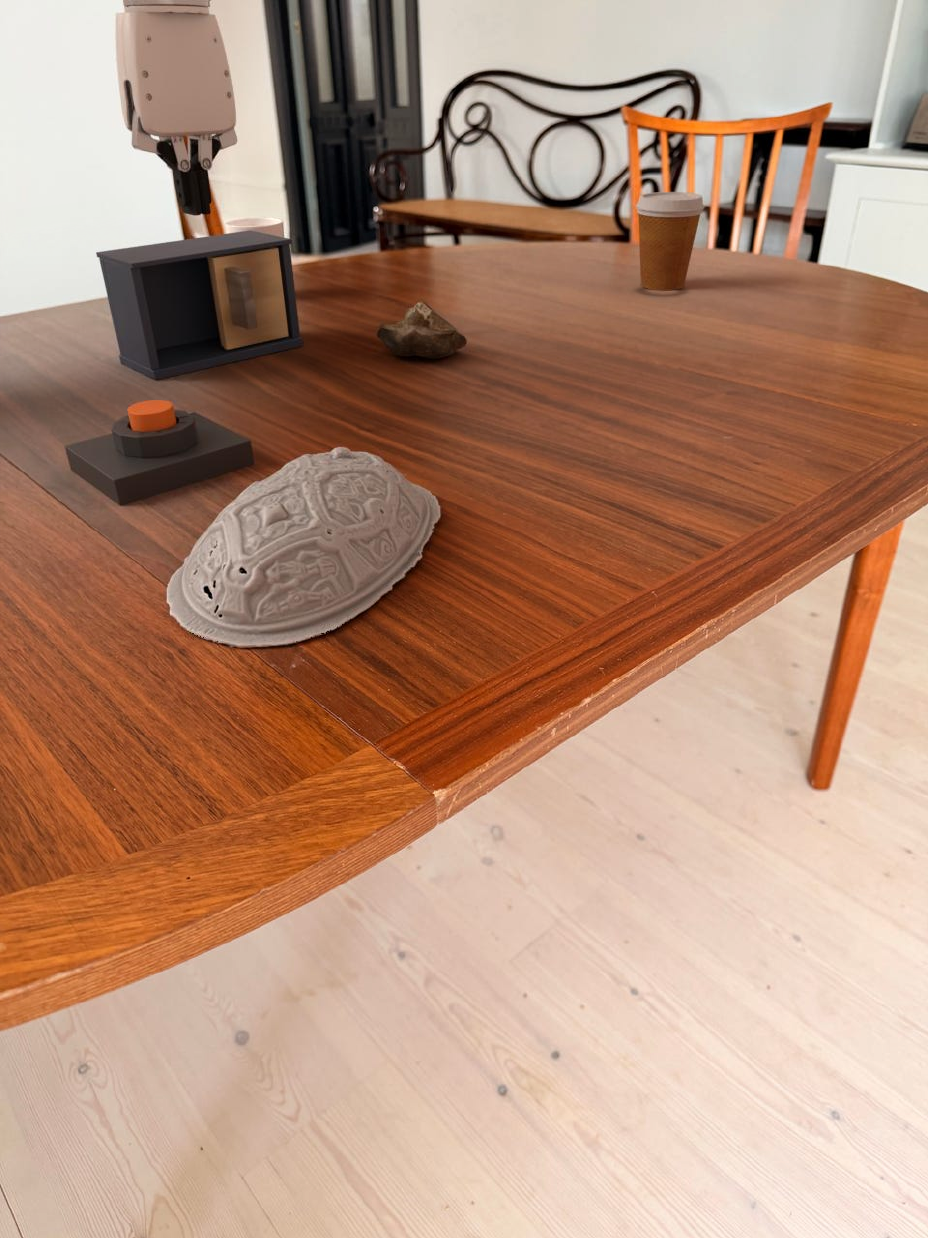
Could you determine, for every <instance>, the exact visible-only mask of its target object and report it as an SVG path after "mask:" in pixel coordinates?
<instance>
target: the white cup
mask: <svg viewBox="0 0 928 1238" xmlns="http://www.w3.org/2000/svg"><path fill="white" fill-rule="evenodd" d="M225 229H226V234H228V233H235V232H242V231H249V230H251V231H256V232H261V233H265V234H270V235H274V236H279V237H283V238H285V228H284V220H283V219H280V218H275V217H247V218H239V219H233V220H230V221H227V222H225Z"/></svg>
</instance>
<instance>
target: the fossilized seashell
mask: <svg viewBox="0 0 928 1238" xmlns="http://www.w3.org/2000/svg"><path fill="white" fill-rule="evenodd" d="M378 327H379V328H378V330H377V333H376V337H377V338H378V339H379V340H381V341H382V343H383V345H384V346H385V347H386V349H387V351H388V350H389V351H390V352H391V353H393V354H394V355H395V356H400V357H407V358H408V357H413V356H418V357H422V358H425V359H426V358H427V359H429V360H430V359H433V360H437V359H439V360H440V359H441V358H447V357H450V356H452V355H453V354H454V353H456V352H457V351H459V350H461V349H463V348H464V347H466V345H467V344H468V340H467V338H466V337H465V336H464V334H462V333H461V331H460V330H458V329H457V328H456V327H455V326H454V324H453V325H452V323H450V322H449V321H448V320H446V318H444V317H443V316H441V315H440V314H438V313H437V312H435V310H434V309H433V308H432V307H431V306H430V305H429V304H428V303H427V302H426V301H423V300H422V301H418V302H417V303H416V304H415V305H413V307H409V308H407V309H406V311H405V316H404V318H403V319H401V320H400V321H397V322H396V323H394V324H393V323H392V324H390V323H383V322H380V323H379V324H378Z"/></svg>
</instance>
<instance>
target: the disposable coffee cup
mask: <svg viewBox="0 0 928 1238" xmlns="http://www.w3.org/2000/svg"><path fill="white" fill-rule="evenodd" d="M635 208H636V213H637V216H638V217H637V218H638V245H639V266H640V267H639V270H640V272H639V273H640V274H639V275H640V286H641V287H643V288H645V289H648V290H654V291H673V290H679V289H682V288H684V287H685V283H686V279H687V274H688V271H689V266H690V262H691V258H692V253H693V250H694V249H693V248H694V245H695V240H696V235H697V230H698V227H699V222H700V217H701V214H702V213H703V210H704V209H705V208H706V206H705V205H704V202H703V195H701V194H698V193H692V192H683V191H681V192H680V191H661V192H660V191H658V192H647V193H643V194H640V195H639V197H638V201H637V204H635Z"/></svg>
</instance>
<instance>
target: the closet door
mask: <svg viewBox="0 0 928 1238" xmlns="http://www.w3.org/2000/svg"><path fill="white" fill-rule="evenodd" d="M210 262H211V268H212V274H213V281H214V287H215V293H216V299H217V306H218V312H219V318H220V325H221V331H222V337H223V344H224V349H227V350H230V349H234V348H239V347H243V346H248V345H252V344H257V343H261V342H265V341H270V340H274V339H279V338H283V337H288V336H289V335H288V326H287V318H286V310H285V301H284V293H283V285H282V276H281V268H280V260H279V251H278V248H276V247H272V248H266V249H259V250H253V251H246V252H240V253H234V254H227V255H221V256H215V257H210Z"/></svg>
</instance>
